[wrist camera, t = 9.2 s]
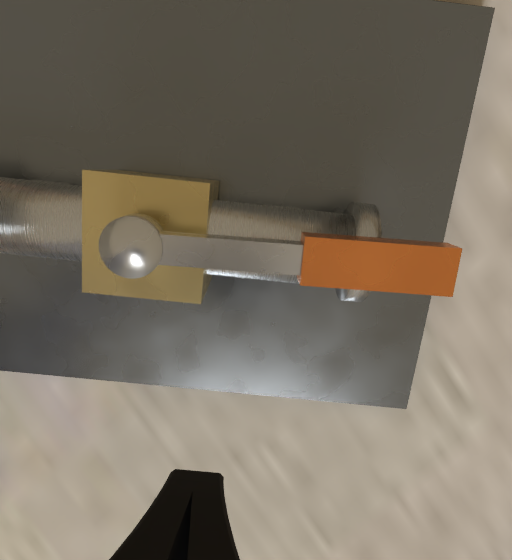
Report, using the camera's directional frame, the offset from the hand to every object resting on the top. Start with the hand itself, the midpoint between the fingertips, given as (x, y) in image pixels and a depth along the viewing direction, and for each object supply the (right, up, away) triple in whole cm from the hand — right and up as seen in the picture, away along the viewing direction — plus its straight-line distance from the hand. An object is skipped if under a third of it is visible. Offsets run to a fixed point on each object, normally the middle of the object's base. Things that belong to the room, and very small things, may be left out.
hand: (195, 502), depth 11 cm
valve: (0, +9, +8) cm, 13 cm away
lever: (+2, +7, +3) cm, 8 cm away
